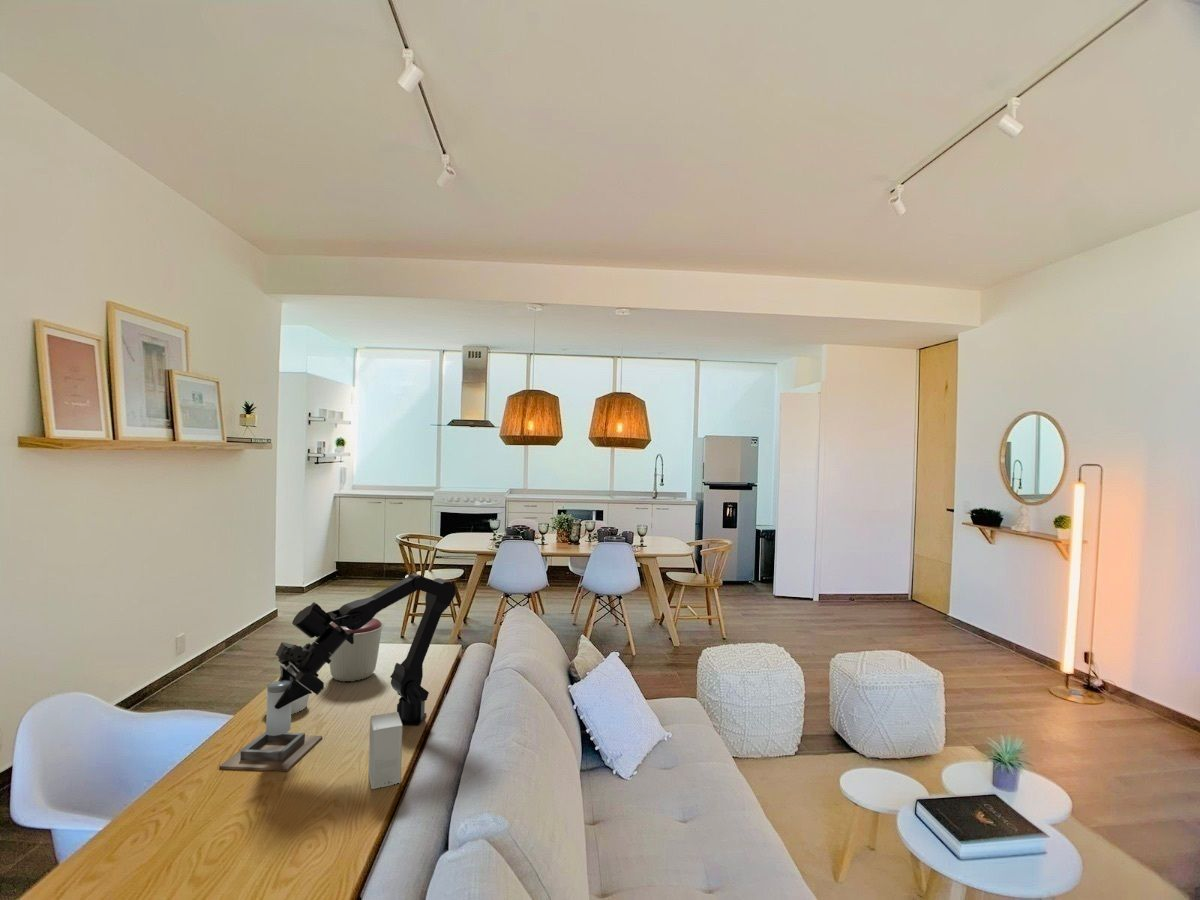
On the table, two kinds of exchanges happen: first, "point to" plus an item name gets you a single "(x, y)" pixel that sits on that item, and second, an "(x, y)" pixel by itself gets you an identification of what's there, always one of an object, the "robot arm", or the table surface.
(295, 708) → the ramekin
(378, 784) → the small box
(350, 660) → the canister
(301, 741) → the jig board
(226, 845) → the table surface
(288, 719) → the grey cylinder
